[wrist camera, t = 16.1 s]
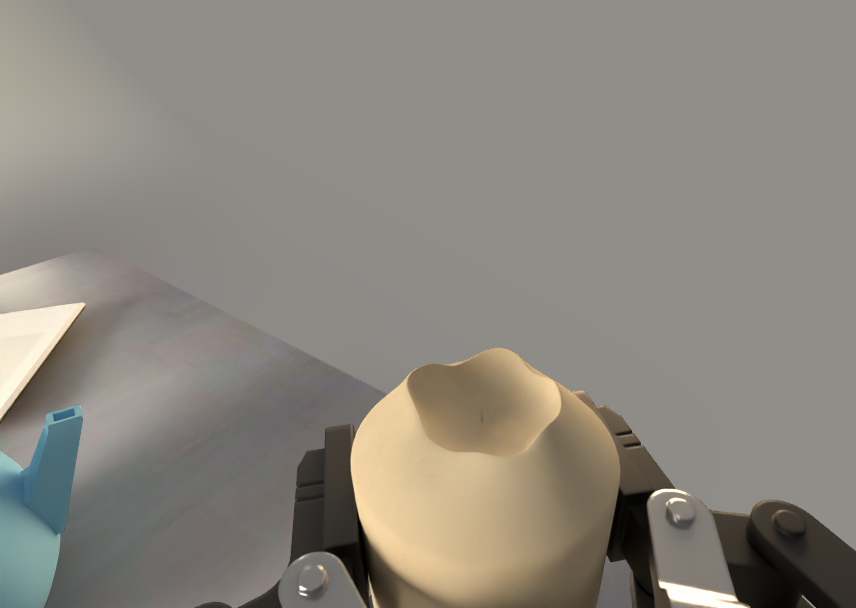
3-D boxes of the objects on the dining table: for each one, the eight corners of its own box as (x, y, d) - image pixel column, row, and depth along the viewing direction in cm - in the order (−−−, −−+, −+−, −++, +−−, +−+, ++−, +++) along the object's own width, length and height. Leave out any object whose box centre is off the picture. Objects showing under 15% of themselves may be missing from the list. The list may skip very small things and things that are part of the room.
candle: (349, 720, 14) (279, 444, 9) (432, 549, 18) (416, 302, 13) (555, 836, 11) (611, 556, 7) (592, 610, 16) (643, 342, 11)
